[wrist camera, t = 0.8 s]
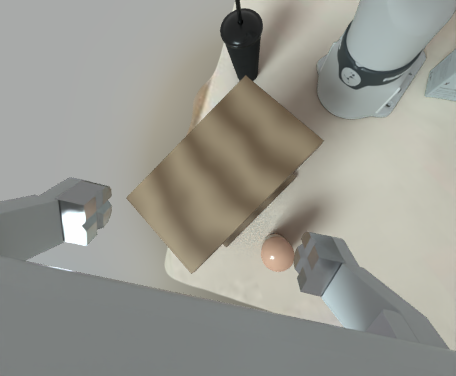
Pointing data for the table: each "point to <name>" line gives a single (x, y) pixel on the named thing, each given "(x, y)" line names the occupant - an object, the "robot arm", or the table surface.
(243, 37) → the drinking cup
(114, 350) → the robot arm
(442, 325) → the table surface
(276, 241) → the peach tapered cylinder
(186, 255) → the under counter shelf
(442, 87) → the skincare box
